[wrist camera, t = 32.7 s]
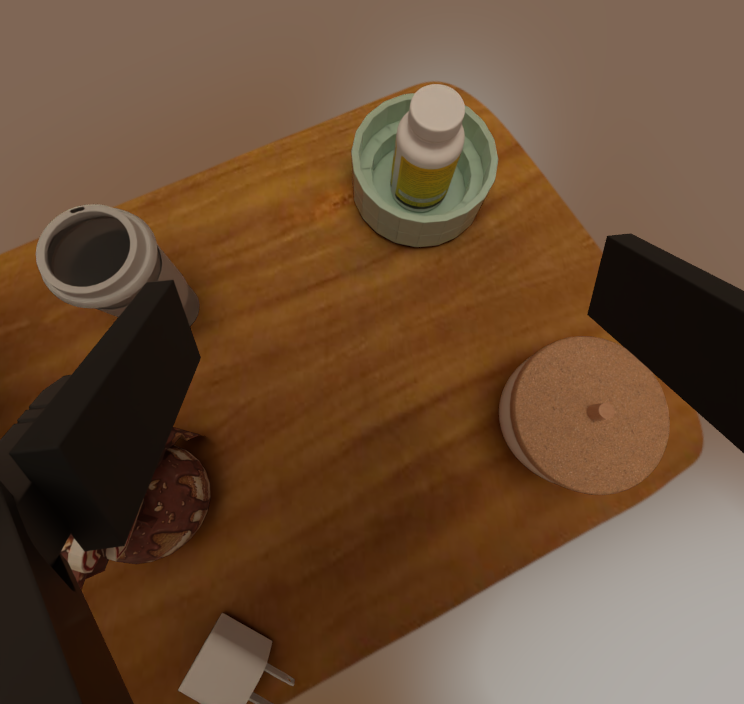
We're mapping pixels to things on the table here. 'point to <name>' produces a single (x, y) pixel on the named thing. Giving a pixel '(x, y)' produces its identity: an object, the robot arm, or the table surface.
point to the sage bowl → (375, 173)
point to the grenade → (155, 514)
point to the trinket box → (585, 416)
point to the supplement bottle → (427, 148)
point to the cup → (105, 260)
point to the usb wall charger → (230, 666)
